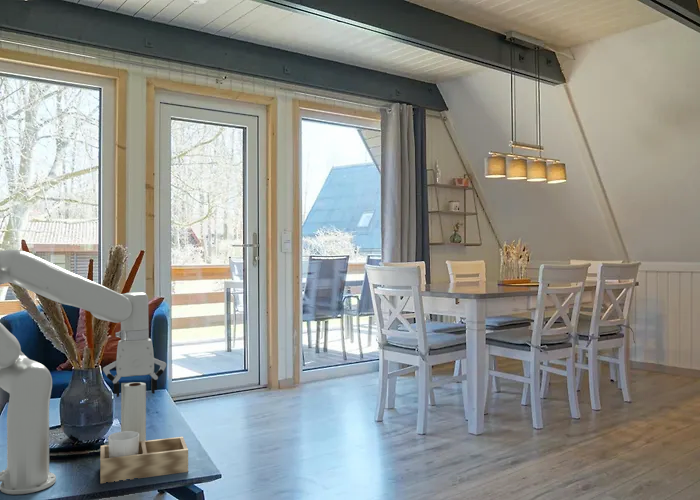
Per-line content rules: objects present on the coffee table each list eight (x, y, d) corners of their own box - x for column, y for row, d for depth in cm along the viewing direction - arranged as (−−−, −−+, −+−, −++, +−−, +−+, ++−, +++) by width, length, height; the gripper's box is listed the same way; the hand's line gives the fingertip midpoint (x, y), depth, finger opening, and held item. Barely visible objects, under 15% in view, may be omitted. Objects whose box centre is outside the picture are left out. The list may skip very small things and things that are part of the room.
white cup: (129, 464, 169) (129, 429, 169) (144, 471, 164) (145, 434, 164) (102, 473, 163) (102, 436, 163) (117, 480, 158) (117, 442, 158)
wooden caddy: (100, 483, 155) (100, 460, 155) (100, 467, 167) (100, 445, 167) (188, 471, 164) (188, 449, 164) (182, 457, 175) (182, 436, 175)
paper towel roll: (148, 459, 173) (148, 384, 173) (125, 463, 170) (126, 387, 170) (142, 451, 179) (142, 379, 179) (121, 455, 176) (121, 382, 176)
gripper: (102, 339, 168) (103, 400, 168) (167, 335, 174) (167, 394, 174) (102, 335, 175) (103, 394, 175) (164, 331, 181) (165, 388, 181)
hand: (135, 394), depth 175 cm, fingers open, 9 cm apart
